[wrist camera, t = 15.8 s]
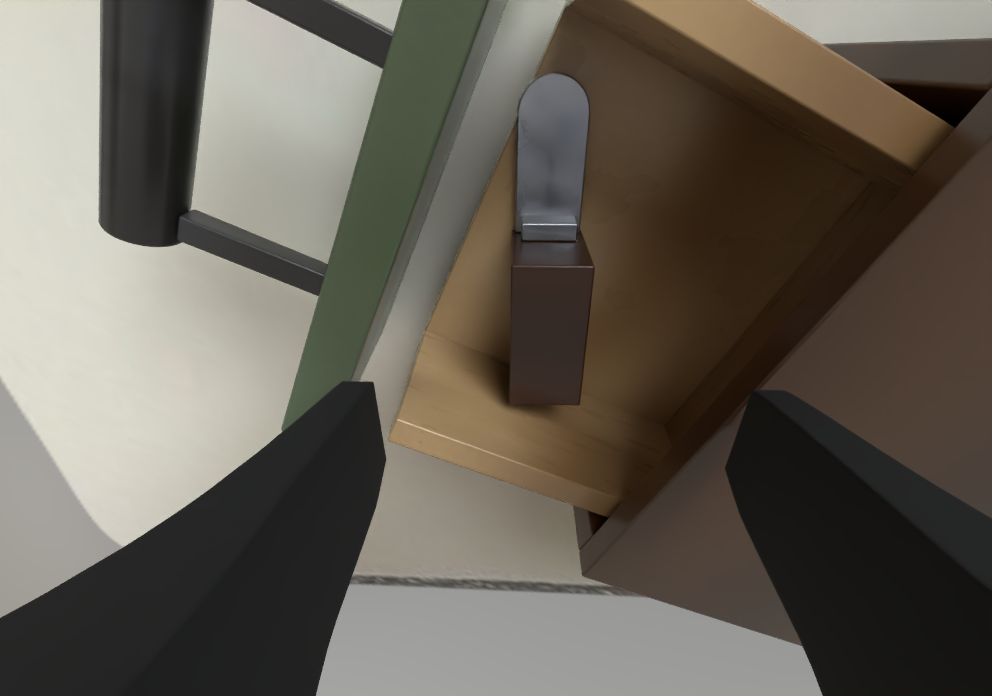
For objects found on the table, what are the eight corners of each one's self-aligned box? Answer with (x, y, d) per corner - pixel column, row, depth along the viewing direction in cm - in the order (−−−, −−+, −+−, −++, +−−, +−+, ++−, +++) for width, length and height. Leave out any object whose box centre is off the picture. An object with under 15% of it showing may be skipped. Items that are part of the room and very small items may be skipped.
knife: (570, 353, 16) (580, 406, 13) (510, 352, 16) (509, 405, 14) (595, 71, 12) (616, 76, 9) (513, 71, 12) (512, 77, 9)
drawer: (202, 263, 16) (60, 358, 11) (271, -257, 10) (21, -574, 5) (651, 439, 19) (698, 573, 14) (910, 133, 13) (1150, 181, 8)
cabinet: (559, 403, 19) (581, 577, 13) (801, 43, 13) (1092, 31, 6) (820, 505, 22) (946, 693, 16) (1133, 249, 15) (1581, 390, 9)
